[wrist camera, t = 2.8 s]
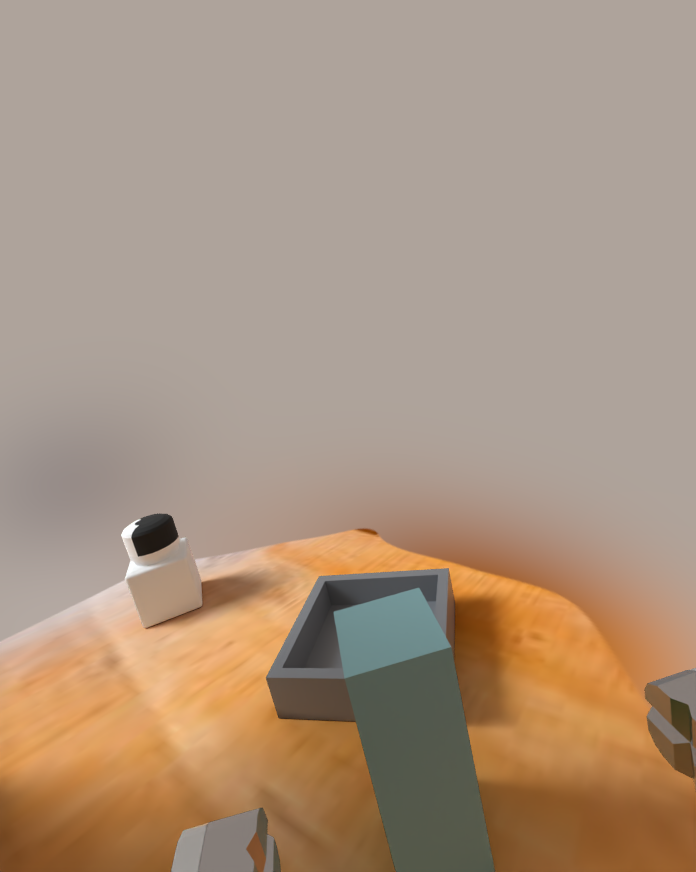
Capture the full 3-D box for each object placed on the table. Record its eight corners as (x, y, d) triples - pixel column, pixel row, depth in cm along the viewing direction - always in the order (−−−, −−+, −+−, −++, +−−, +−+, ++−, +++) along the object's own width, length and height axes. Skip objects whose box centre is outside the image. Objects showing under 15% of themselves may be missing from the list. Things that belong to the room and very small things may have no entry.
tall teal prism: (404, 902, 22) (344, 678, 19) (383, 803, 27) (333, 611, 24) (495, 871, 23) (451, 646, 20) (458, 779, 28) (419, 587, 24)
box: (278, 718, 35) (265, 677, 34) (327, 607, 48) (319, 576, 47) (453, 725, 31) (444, 679, 30) (455, 602, 44) (448, 568, 43)
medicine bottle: (201, 581, 61) (175, 503, 58) (203, 607, 54) (174, 520, 51) (148, 601, 59) (119, 521, 56) (143, 630, 52) (109, 541, 49)
